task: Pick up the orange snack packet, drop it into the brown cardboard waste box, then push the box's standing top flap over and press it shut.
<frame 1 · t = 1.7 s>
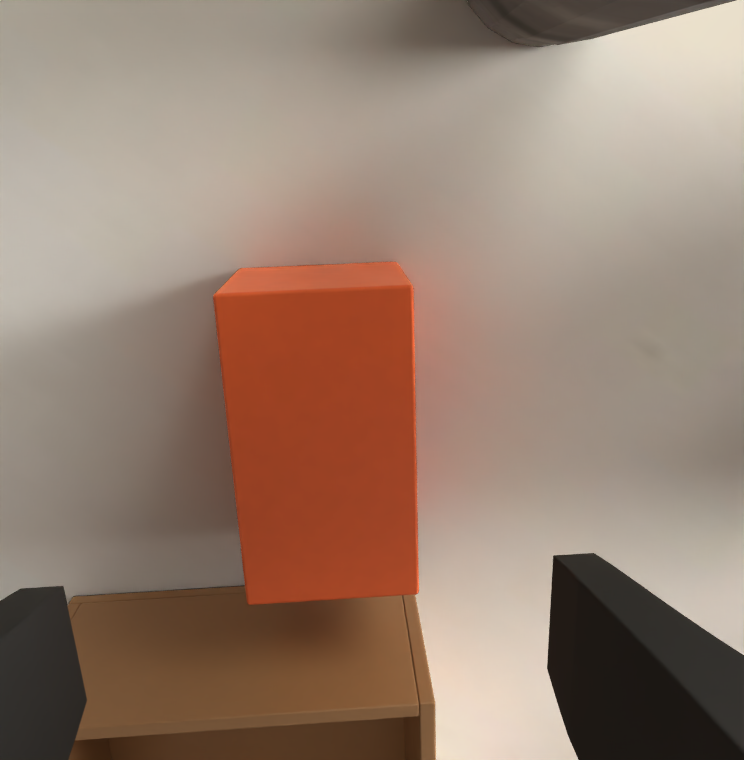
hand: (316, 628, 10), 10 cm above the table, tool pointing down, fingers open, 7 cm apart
packet: (326, 401, 19), on the table
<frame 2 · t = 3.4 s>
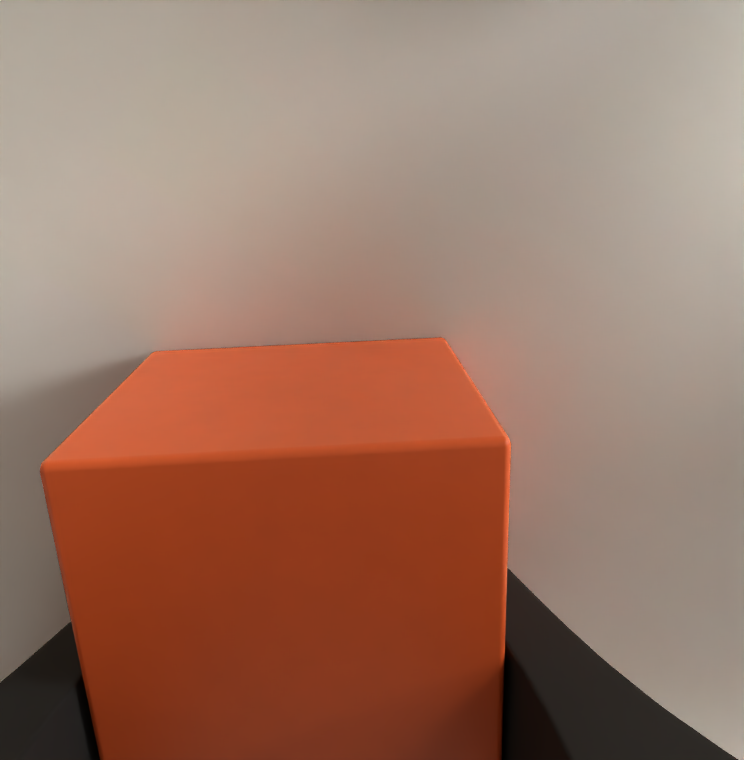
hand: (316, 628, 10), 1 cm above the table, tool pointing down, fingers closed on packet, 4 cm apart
packet: (316, 573, 11), on the table, touching gripper
when the fingers open (2 cm above the table, at t = 7.7 s): packet stays where it is, resting on waste box.
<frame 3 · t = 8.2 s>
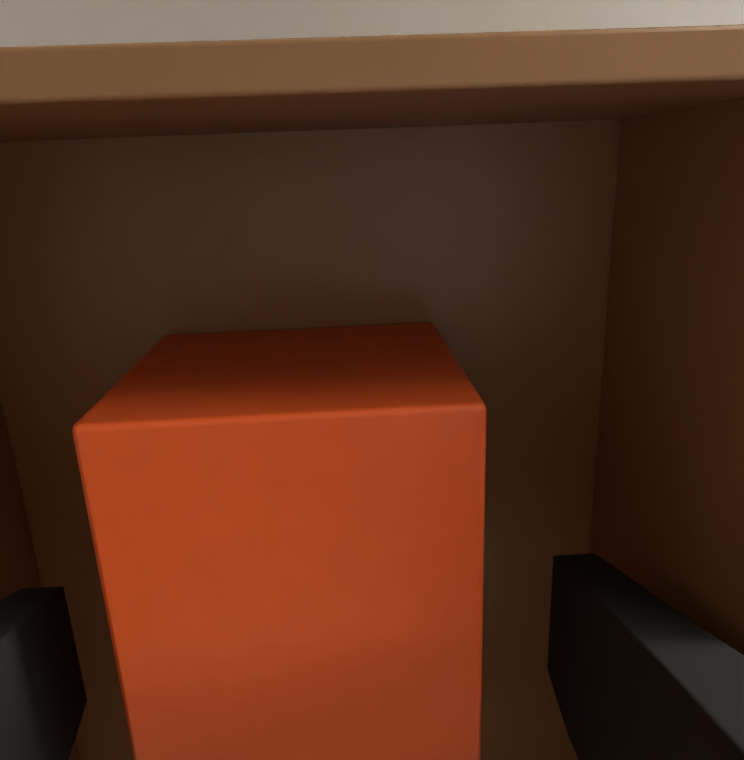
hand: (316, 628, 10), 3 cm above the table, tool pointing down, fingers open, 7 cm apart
packet: (315, 543, 12), resting on waste box
waste box: (318, 532, 12), on the table
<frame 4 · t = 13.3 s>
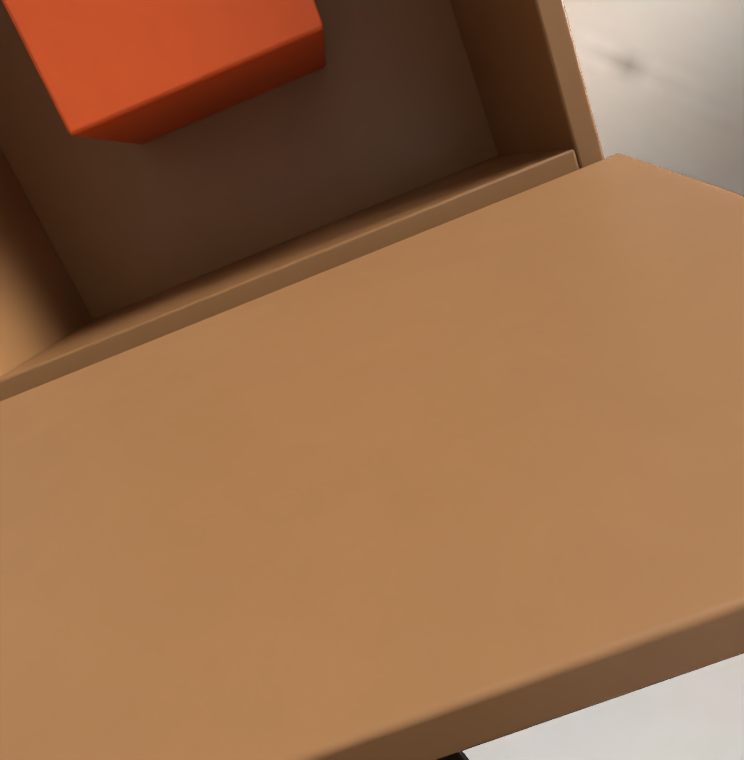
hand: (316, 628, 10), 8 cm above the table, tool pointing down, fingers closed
flap: (275, 430, 7), point 10 cm above the table, hinge at 100.3°
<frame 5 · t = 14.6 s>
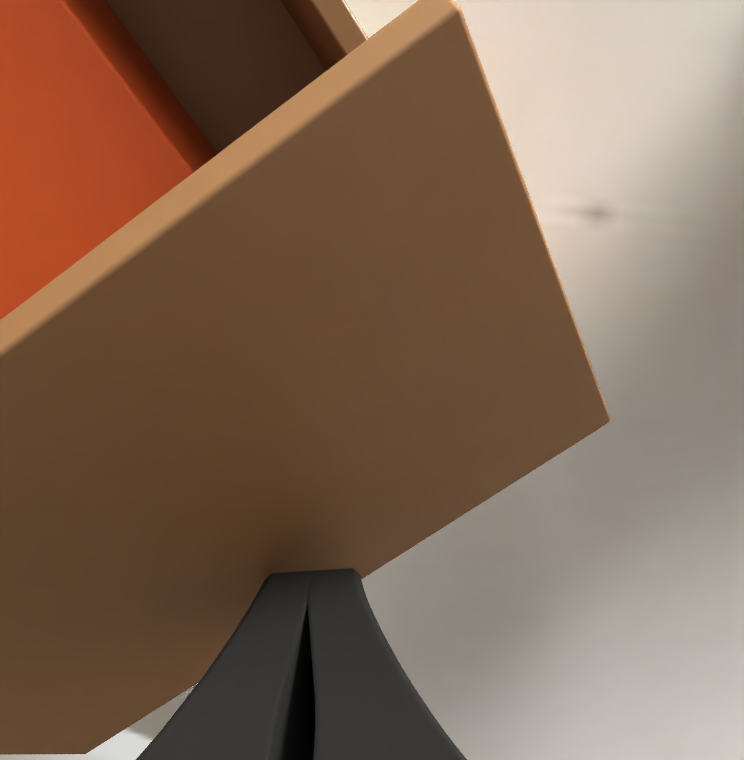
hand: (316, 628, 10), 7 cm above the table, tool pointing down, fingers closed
packet: (129, 201, 14), resting on waste box
waste box: (137, 199, 15), on the table
flap: (186, 531, 8), point 8 cm above the table, hinge at 36.2°
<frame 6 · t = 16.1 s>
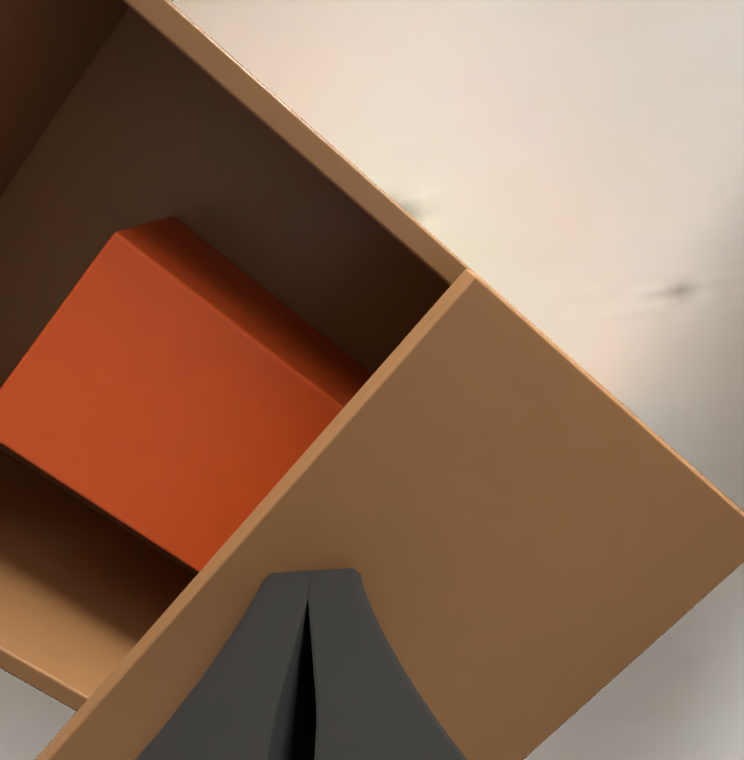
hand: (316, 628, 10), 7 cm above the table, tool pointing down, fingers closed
packet: (257, 396, 16), resting on waste box
waste box: (260, 389, 16), on the table
flap: (400, 656, 11), point 7 cm above the table, hinge at 9.8°, touching gripper
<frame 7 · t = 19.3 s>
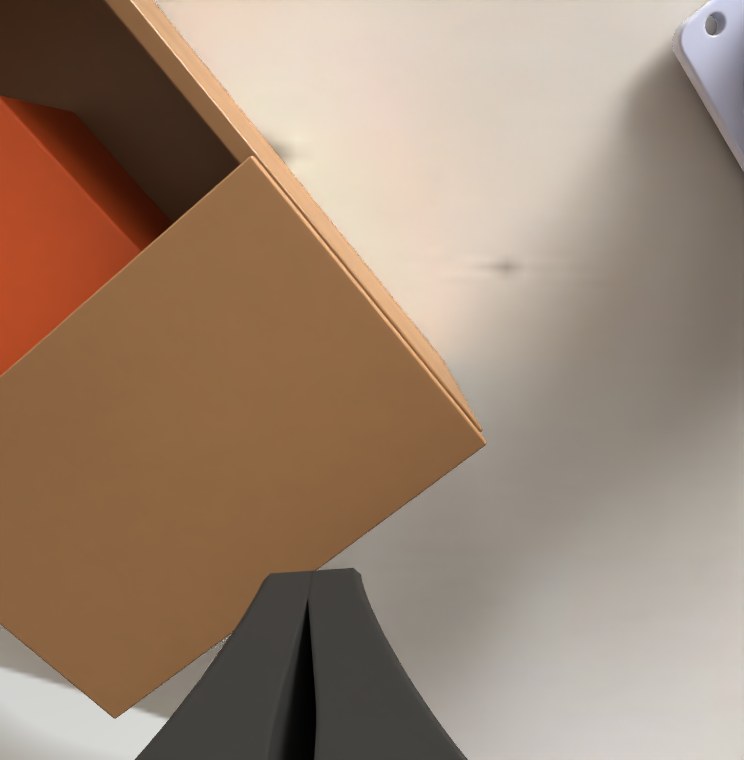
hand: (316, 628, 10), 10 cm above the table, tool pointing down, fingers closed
packet: (125, 287, 18), resting on waste box
waste box: (131, 284, 18), on the table
flap: (176, 470, 14), point 6 cm above the table, hinge at -0.5°
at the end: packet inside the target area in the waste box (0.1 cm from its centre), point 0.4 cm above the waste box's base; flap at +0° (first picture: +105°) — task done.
